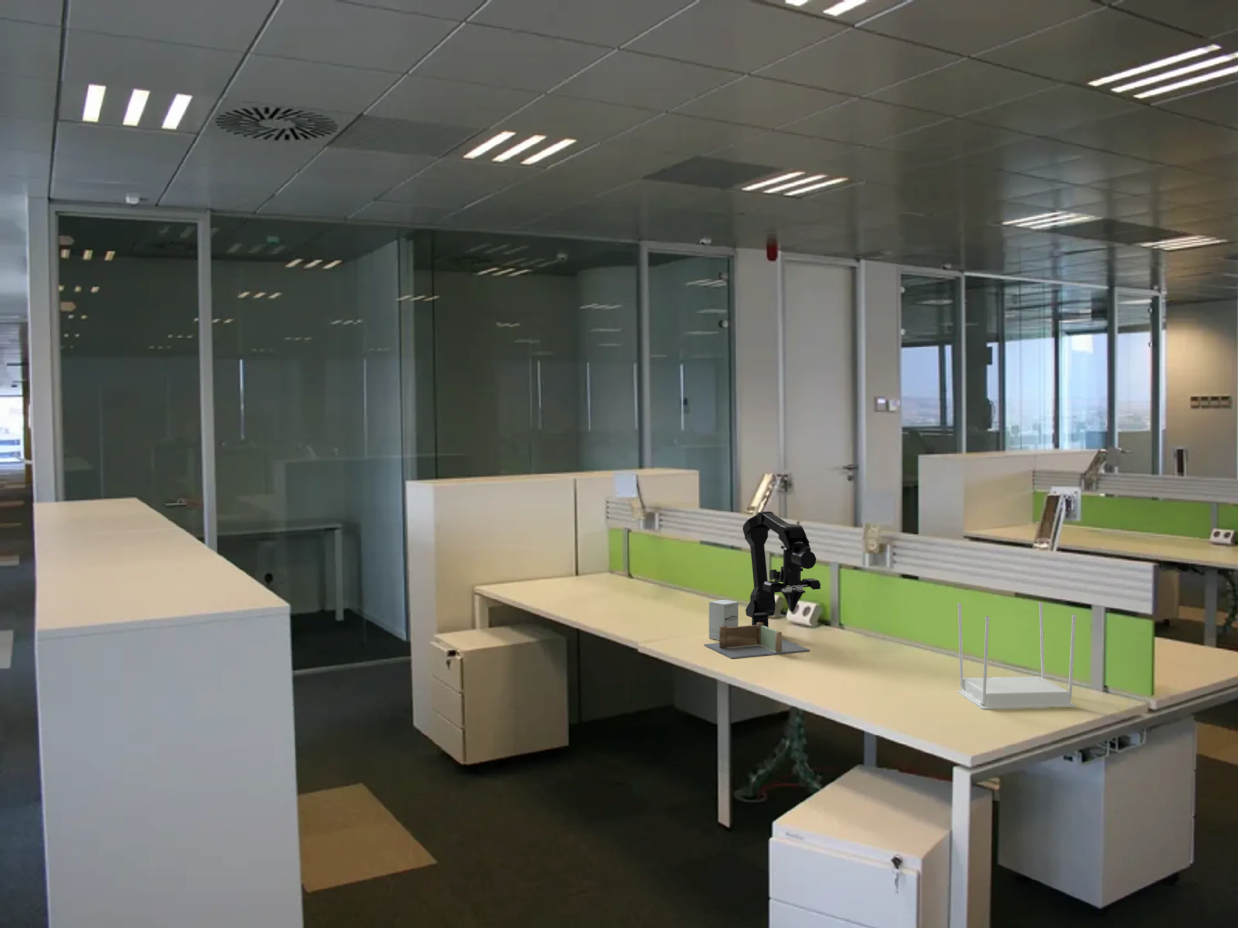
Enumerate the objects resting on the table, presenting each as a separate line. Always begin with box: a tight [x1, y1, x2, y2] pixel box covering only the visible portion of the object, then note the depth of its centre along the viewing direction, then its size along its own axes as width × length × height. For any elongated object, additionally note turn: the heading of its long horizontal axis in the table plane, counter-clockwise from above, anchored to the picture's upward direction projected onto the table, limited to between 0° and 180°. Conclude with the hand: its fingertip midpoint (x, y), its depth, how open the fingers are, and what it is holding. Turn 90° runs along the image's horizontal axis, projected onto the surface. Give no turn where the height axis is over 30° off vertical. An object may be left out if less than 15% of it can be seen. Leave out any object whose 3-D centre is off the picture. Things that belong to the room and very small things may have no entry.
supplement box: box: [708, 599, 739, 641], centre depth 350 cm, size 7×7×13 cm
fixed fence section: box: [718, 622, 764, 649], centre depth 336 cm, size 2×16×7 cm, turn 110°
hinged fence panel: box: [761, 626, 783, 652], centre depth 331 cm, size 2×12×6 cm, turn 20°
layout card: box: [703, 638, 811, 660], centre depth 335 cm, size 20×28×1 cm
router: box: [957, 601, 1077, 711], centre depth 272 cm, size 19×25×24 cm
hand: (791, 611), depth 337 cm, fingers closed
